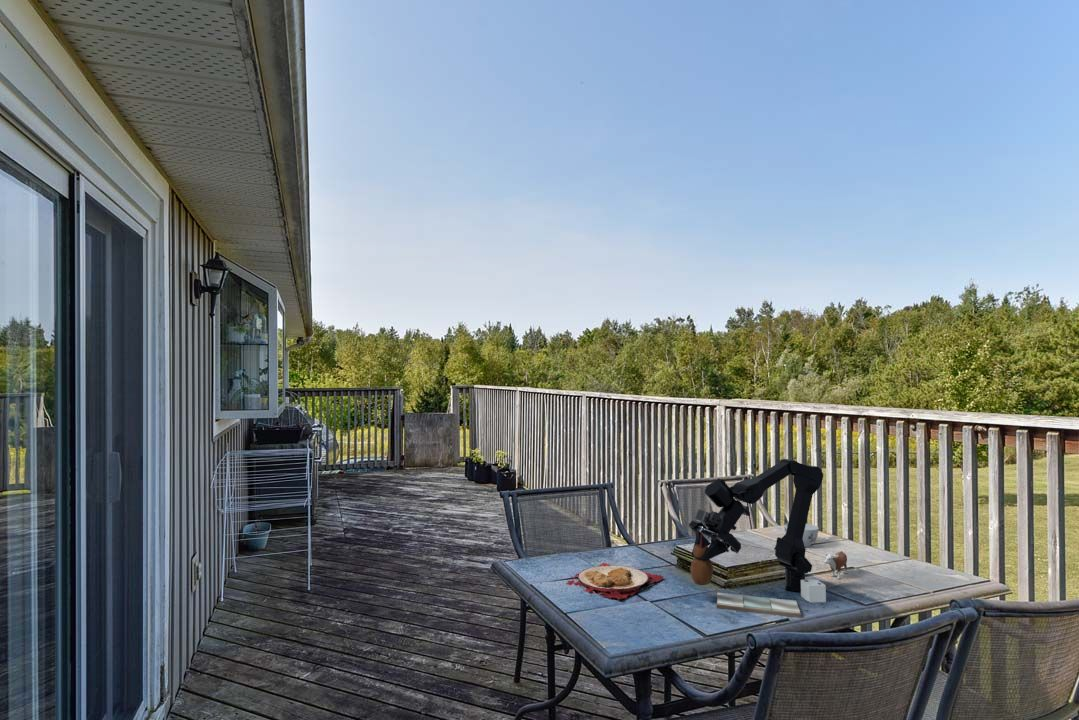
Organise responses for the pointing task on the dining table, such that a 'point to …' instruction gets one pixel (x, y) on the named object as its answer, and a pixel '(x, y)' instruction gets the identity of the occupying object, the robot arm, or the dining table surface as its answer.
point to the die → (813, 590)
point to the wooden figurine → (701, 565)
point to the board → (758, 604)
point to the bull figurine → (836, 562)
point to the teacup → (808, 534)
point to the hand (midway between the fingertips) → (697, 558)
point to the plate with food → (614, 580)
